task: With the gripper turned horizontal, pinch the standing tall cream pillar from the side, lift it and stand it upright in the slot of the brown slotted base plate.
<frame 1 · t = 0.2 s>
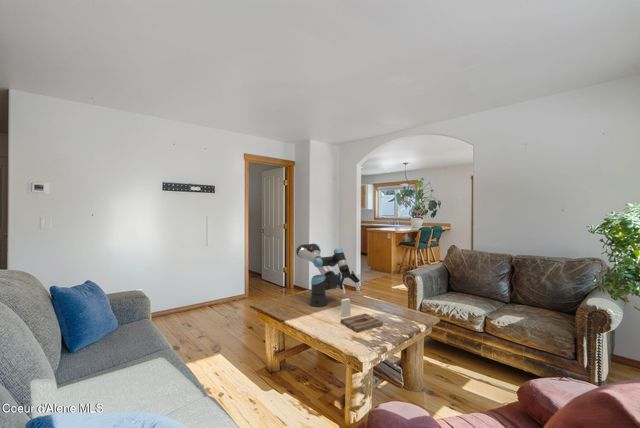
hand: (351, 292, 220), 15 cm above the table, fingers open, 13 cm apart
tall cream pillar: (345, 315, 212), on the table
brown slotted base plate: (361, 324, 197), on the table
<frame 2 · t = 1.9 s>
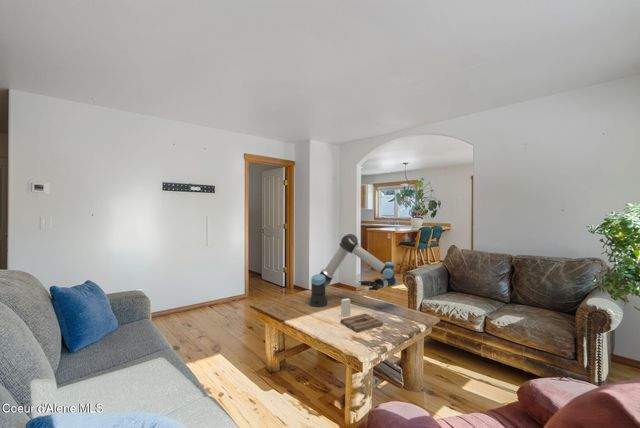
hand: (359, 287, 218), 19 cm above the table, fingers open, 13 cm apart
nothing on the table moved.
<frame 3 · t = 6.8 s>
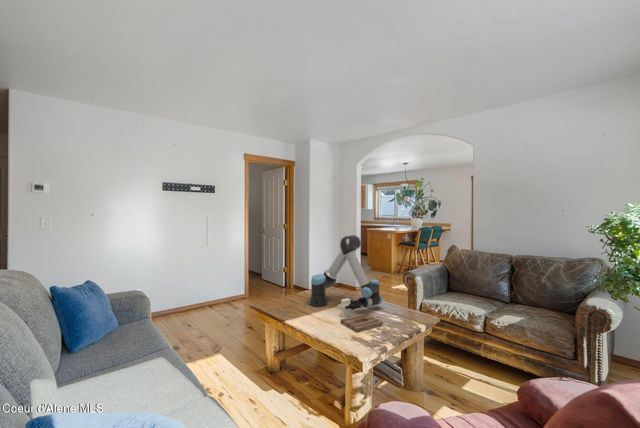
hand: (339, 307, 209), 7 cm above the table, fingers closed on tall cream pillar, 3 cm apart
tall cream pillar: (345, 315, 212), on the table, touching gripper
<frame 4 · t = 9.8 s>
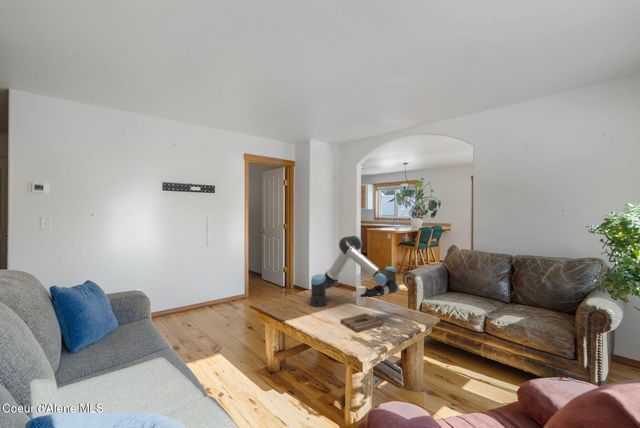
hand: (354, 295, 194), 20 cm above the table, fingers closed on tall cream pillar, 3 cm apart
tall cream pillar: (361, 304, 197), point 13 cm above the table, touching gripper
when the fingers open (8 cm above the table, at t = 12.9 s): tall cream pillar drops 1 cm, resting in brown slotted base plate.
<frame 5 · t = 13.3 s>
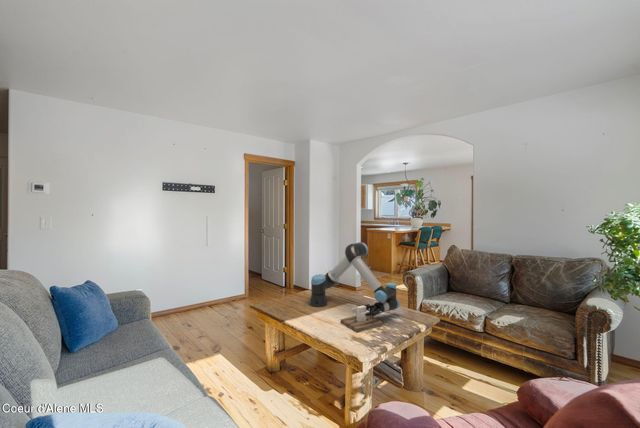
hand: (356, 312, 194), 8 cm above the table, fingers open, 9 cm apart
tall cream pillar: (361, 324, 197), resting in brown slotted base plate
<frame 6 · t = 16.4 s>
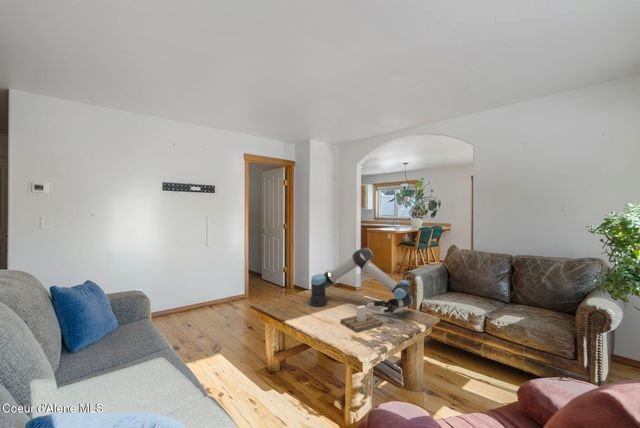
hand: (373, 308, 202), 9 cm above the table, fingers open, 13 cm apart
nothing on the table moved.
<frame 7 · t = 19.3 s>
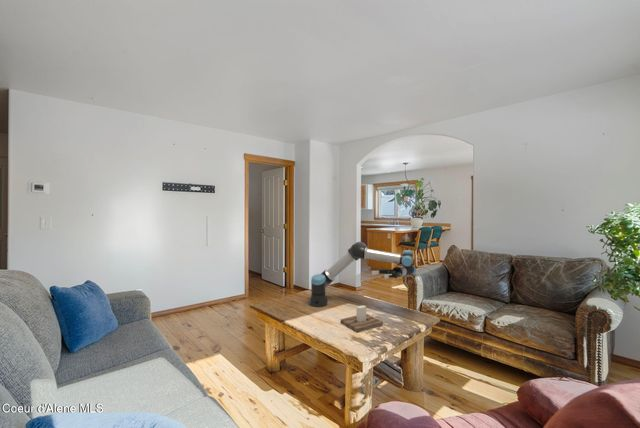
hand: (378, 275, 212), 30 cm above the table, fingers open, 13 cm apart
nothing on the table moved.
at the end: tall cream pillar 0.0 cm off-centre on the brown slotted base plate, point 0.0 cm above the brown slotted base plate's base; tall cream pillar tilted 0°; the gripper is holding nothing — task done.
